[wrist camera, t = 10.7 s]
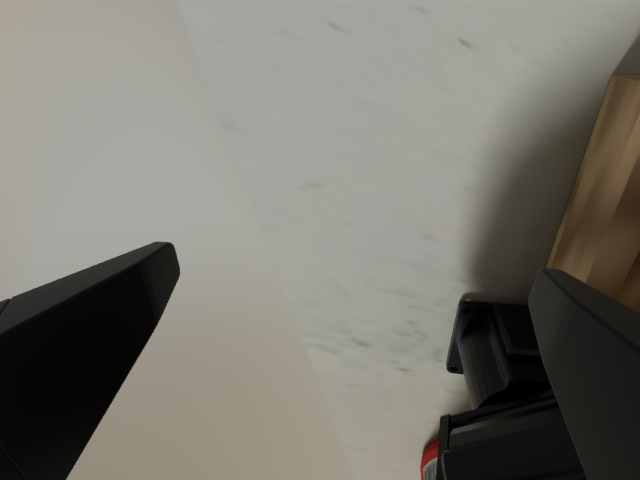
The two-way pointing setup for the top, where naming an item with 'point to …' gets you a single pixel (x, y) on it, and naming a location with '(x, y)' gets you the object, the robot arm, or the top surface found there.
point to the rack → (607, 201)
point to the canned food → (429, 462)
